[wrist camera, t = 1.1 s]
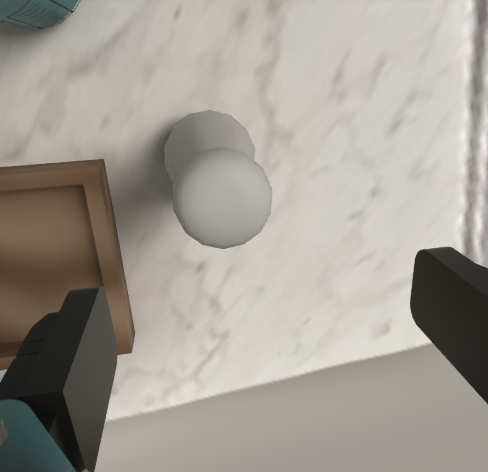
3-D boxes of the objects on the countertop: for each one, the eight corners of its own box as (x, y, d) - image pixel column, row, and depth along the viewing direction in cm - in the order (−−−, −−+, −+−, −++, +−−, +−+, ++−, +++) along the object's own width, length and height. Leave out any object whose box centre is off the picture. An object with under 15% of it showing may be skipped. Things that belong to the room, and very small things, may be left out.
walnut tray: (-122, 176, 27) (-151, 186, 24) (103, 159, 28) (96, 167, 26) (-53, 356, 32) (-70, 379, 30) (134, 333, 33) (131, 353, 31)
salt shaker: (258, 119, 29) (314, 155, 17) (237, 198, 31) (274, 281, 19) (173, 97, 27) (168, 119, 15) (157, 181, 29) (141, 258, 17)
